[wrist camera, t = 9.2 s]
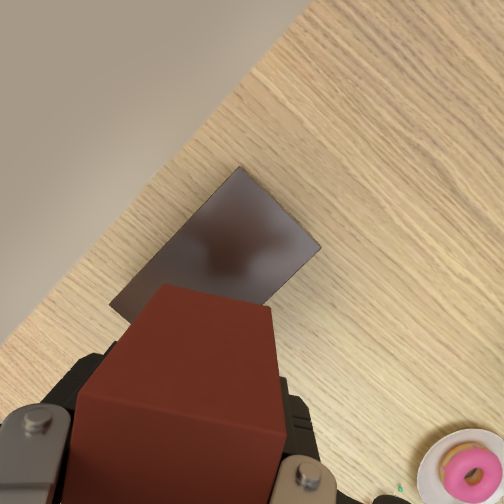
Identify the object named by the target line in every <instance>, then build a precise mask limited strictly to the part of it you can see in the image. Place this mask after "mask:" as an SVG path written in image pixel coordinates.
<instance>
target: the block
mask: <svg viewBox="0 0 504 504" xmlns="http://www.w3.org/2000/svg"><path fill="white" fill-rule="evenodd" d="M321 248H322V247H321V246H320V245H319V243H318V242H317V241H316V240H315V239H314V238H313V236H312V235H311V234H310V233H309V232H308V231H307V230H306V229H305V228H304V227H303V226H302V225H301V224H300V223H299V222H298V221H297V220H296V219H295V218H294V217H293V216H292V215H291V214H290V213H289V212H288V211H287V210H286V209H285V208H284V207H283V206H282V205H281V204H280V203H279V202H278V201H277V200H276V199H275V198H274V197H273V196H272V195H271V194H270V193H269V192H268V191H267V190H266V189H265V188H264V187H263V186H262V185H261V184H260V183H259V182H258V181H257V180H256V179H254V178H253V177H252V176H251V175H250V174H249V173H248V172H247V171H246V170H245V169H244V168H243V167H242V166H239V167H238V168H237V169H236V170H235V171H234V172H233V173H232V174H231V176H230V177H229V178H228V179H227V180H226V181H225V182H224V183H223V184H222V185H221V186H220V187H219V188H218V189H217V190H216V191H215V192H214V194H213V195H212V196H211V197H210V198H209V199H208V200H207V201H206V202H205V203H204V204H203V205H202V206H201V207H200V208H199V209H198V210H197V211H196V213H195V214H194V215H193V216H192V217H191V218H190V219H189V220H188V221H187V222H186V223H185V224H184V225H183V226H182V227H181V228H180V229H179V231H178V232H177V233H176V234H175V235H174V236H173V237H172V238H171V239H170V240H169V241H168V242H167V243H166V244H165V245H164V246H163V247H162V249H161V250H160V251H159V252H158V253H157V254H156V255H155V256H154V257H153V258H152V259H151V260H150V261H149V262H148V263H147V264H146V265H145V267H144V268H143V269H142V270H141V271H140V272H139V273H138V274H137V275H136V276H135V277H134V278H133V279H132V280H131V281H130V282H129V283H128V284H127V286H126V287H125V288H124V289H123V290H122V291H121V292H120V293H119V294H118V295H117V296H116V297H115V298H114V299H113V300H112V301H111V302H110V304H109V306H111V307H112V308H113V309H114V310H115V311H116V312H118V313H119V314H120V315H121V316H122V317H123V318H125V319H126V320H127V321H128V322H129V323H130V324H132V323H133V321H134V320H135V319H136V318H137V316H138V315H139V314H140V312H141V311H142V310H143V309H144V307H145V306H146V305H147V303H148V302H149V301H150V300H151V298H152V297H153V296H154V294H155V293H156V292H157V291H158V289H159V288H160V287H161V285H162V284H168V285H172V286H177V287H181V288H186V289H190V290H195V291H200V292H204V293H209V294H213V295H218V296H222V297H227V298H231V299H236V300H240V301H245V302H249V303H254V304H258V305H263V304H264V303H265V302H266V301H267V300H268V299H269V298H270V297H271V296H272V295H273V294H274V293H275V292H276V291H277V290H278V289H279V288H281V287H282V286H283V285H284V284H285V283H286V282H287V281H288V280H289V279H290V278H291V277H292V276H293V275H294V274H295V273H296V272H297V271H298V270H299V269H300V268H301V267H302V266H303V265H304V264H305V263H306V262H307V261H308V260H309V259H310V258H312V257H313V256H314V255H315V254H316V253H317V252H318V251H319V250H320V249H321Z"/></svg>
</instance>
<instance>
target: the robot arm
mask: <svg viewBox="0 0 504 504" xmlns="http://www.w3.org/2000/svg"><path fill="white" fill-rule="evenodd" d="M117 342H118V341H114V342H113V343H112V345H111V346H110V347H109V348H108V350H107V351H106V352H105V353H104V355H102V354H97V353H92V354H89V355H87V356H85V357H83V358H81V359H79V360H78V361H77V362H76V363H75V365H74V366H73V367H72V368H71V370H70V371H68V372H67V373H66V374H65V376H64V377H63V379H61V380H60V381H59V382H58V383H57V384H56V386H55V387H54V388H53V389H52V390H51V391H50V392H49V393H48V394H47V395H46V397H45V398H44V399H43V400H42V401H41V402H40V403H37V404H30V405H26V406H23V407H21V408H18V409H16V410H15V411H13V412H11V413H10V414H9V415H8V416H7V417H6V418H5V420H4V421H3V423H2V424H0V504H60V503H61V500H62V494H63V487H64V481H65V474H66V468H67V461H68V455H69V448H70V442H71V435H72V429H73V422H74V416H75V409H76V403H77V396H78V392H79V391H80V390H81V388H82V387H83V386H84V384H85V383H86V382H87V381H88V379H89V378H90V377H91V375H92V374H93V373H94V372H95V370H96V369H97V368H98V366H99V365H100V364H101V363H102V361H103V360H104V359H105V357H106V356H107V355H108V354H109V352H110V351H111V350H112V348H113V347H114V346H115V345H116V343H117ZM279 377H280V385H281V393H282V401H283V409H284V416H285V424H286V432H287V438H286V441H285V445H284V448H283V452H282V455H281V459H280V462H279V466H278V469H277V473H276V477H275V480H274V484H273V487H272V491H271V494H270V498H269V501H268V504H363V503H361V502H359V501H356V500H354V499H352V498H350V497H348V496H346V495H345V494H343V493H342V492H340V491H339V490H338V489H337V483H336V480H335V478H334V476H333V474H332V473H331V472H330V470H329V469H328V468H327V467H326V466H325V465H323V464H322V463H321V461H320V457H319V453H318V448H317V444H316V440H315V435H314V431H313V426H312V422H311V418H310V413H309V409H308V407H307V406H306V404H305V403H304V402H303V400H302V399H301V398H300V397H299V396H294V395H289V392H288V386H287V380H286V378H285V377H281V376H279ZM372 504H411V503H409V502H408V501H406V500H404V499H402V498H399V497H396V496H392V495H381V496H378V497H377V498H375V499H374V501H373V503H372Z"/></svg>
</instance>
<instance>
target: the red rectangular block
mask: <svg viewBox="0 0 504 504" xmlns="http://www.w3.org/2000/svg"><path fill="white" fill-rule="evenodd" d="M286 438H287V432H286V424H285V416H284V409H283V401H282V393H281V385H280V377H279V369H278V361H277V354H276V346H275V338H274V330H273V322H272V314H271V308H270V307H268V306H263V305H258V304H254V303H249V302H245V301H240V300H236V299H231V298H227V297H222V296H218V295H213V294H209V293H204V292H200V291H195V290H190V289H186V288H181V287H177V286H172V285H168V284H162V285H161V287H160V288H159V289H158V291H157V292H156V293H155V294H154V296H153V297H152V298H151V300H150V301H149V302H148V303H147V305H146V306H145V307H144V309H143V310H142V311H141V312H140V314H139V315H138V316H137V318H136V319H135V320H134V321H133V323H132V324H131V325H130V327H129V328H128V329H127V330H126V332H125V333H124V334H123V336H122V337H121V338H120V339H119V341H118V342H117V343H116V345H115V346H114V347H113V348H112V350H111V351H110V352H109V354H108V355H107V356H106V357H105V359H104V360H103V361H102V363H101V364H100V365H99V366H98V368H97V369H96V370H95V372H94V373H93V374H92V375H91V377H90V378H89V379H88V381H87V382H86V383H85V384H84V386H83V387H82V388H81V390H80V391H79V392H78V396H77V403H76V409H75V416H74V422H73V429H72V435H71V442H70V448H69V455H68V461H67V468H66V474H65V481H64V487H63V494H62V500H61V504H268V501H269V498H270V494H271V491H272V487H273V484H274V480H275V477H276V473H277V469H278V466H279V462H280V459H281V455H282V452H283V448H284V445H285V441H286Z"/></svg>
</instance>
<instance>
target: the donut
mask: <svg viewBox="0 0 504 504" xmlns="http://www.w3.org/2000/svg"><path fill="white" fill-rule="evenodd" d="M398 490H399V491H400V492H402V491H403V489H402V488H401V487H399V488H398ZM417 490H418V493H419V495H420V498H421V500H422V501H423V503H424V504H496V503H498V502H499V501H500V499H501V498H502V497H503V496H504V440H503V439H502V438H501V437H499V436H498V435H496V434H495V433H492V432H490V431H487V430H483V429H464V430H459V431H456V432H453V433H451V434H448V435H447V436H445V437H443V438H442V439H440V440H439V441H438V442H436V443H435V444H434V445H433V446H432V447H431V448H430V449H429V450H428V452H427V453H426V454H425V456H424V458H423V459H422V461H421V463H420V466H419V469H418V473H417ZM393 493H394V492H393ZM394 495H395V493H394ZM395 496H396V495H395Z"/></svg>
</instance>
